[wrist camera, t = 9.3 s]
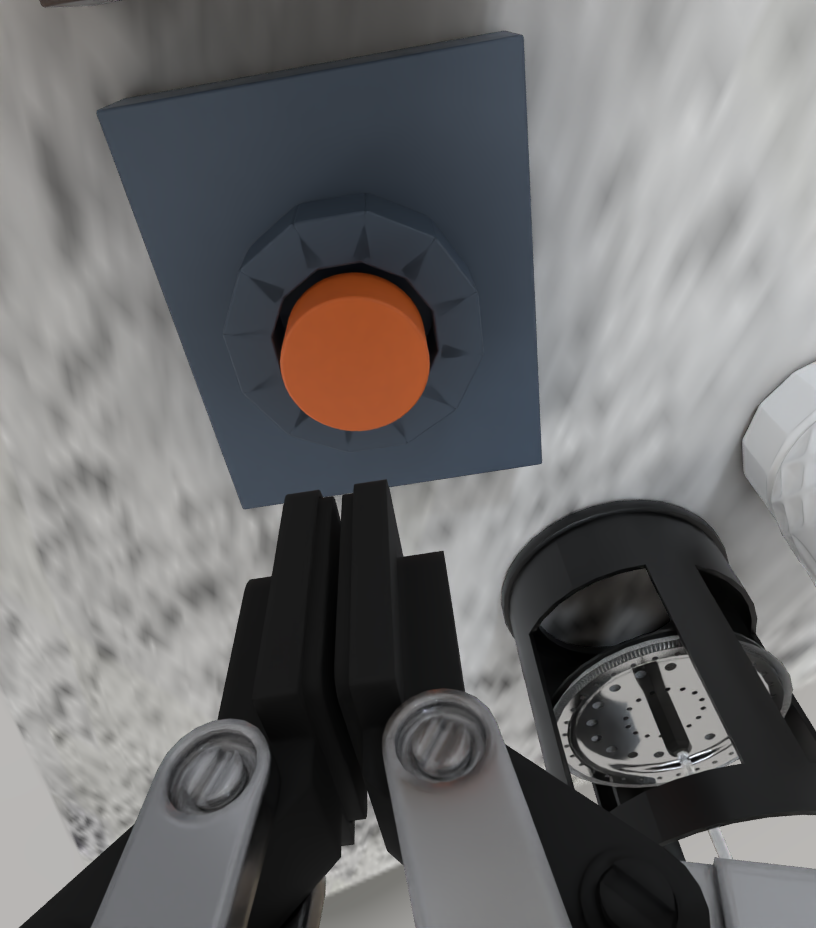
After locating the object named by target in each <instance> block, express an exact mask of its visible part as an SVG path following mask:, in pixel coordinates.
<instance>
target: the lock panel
mask: <svg viewBox="0 0 816 928" xmlns="http://www.w3.org/2000/svg"><path fill="white" fill-rule="evenodd" d="M115 1H120V0H40V3H41V5H42V6H43V7H71V6H93V5H99V4H104V3H110V2H115Z"/></svg>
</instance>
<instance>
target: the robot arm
mask: <svg viewBox="0 0 816 928" xmlns="http://www.w3.org/2000/svg"><path fill="white" fill-rule="evenodd" d="M367 791H368V794H369V797H370V800H371V803H372V806H373V809H374V812H375V815H376V818H377V821H378V824H379V827H380V830H381V833H382V837H383V840H384V843H385V846H386V849H387V851H388V852H389V853H390V854H391V855H392V856H393V857H395V858H396V859H397V860H398V861H399V862H400V863H401V864H403V865H404V870H405V875H406V880H407V885H408V890H409V896H410V901H411V906H412V911H413V917H414V922H415V927H416V928H816V869H812V868H803V867H794V866H786V865H777V864H768V863H759V862H751V861H742V860H733V859H724V858H716V857H715V859H714V864H713V865H711V864H702V863H693V862H685V861H679V860H678V859H677V858H676V857H675V856H673V855H672V854H671V853H670V852H669V851H668V850H666V849H665V848H663V847H662V846H660V845H659V844H657V843H656V842H654V841H652V840H651V839H649V838H648V837H646V836H645V835H643V834H642V833H640V832H639V831H637V830H636V829H634V828H633V827H631V826H630V825H628V824H626V823H625V822H623V821H622V820H620V819H619V818H617V817H616V816H614V815H613V814H611V813H610V812H608V811H607V810H605V809H603V808H602V807H600V806H599V805H597V804H596V803H594V802H593V801H591V800H589V799H588V798H587V797H585V796H584V795H582V794H580V793H579V792H577V791H576V790H574V789H573V788H571V787H570V786H568V785H567V784H565V783H564V782H562V781H561V780H559V779H558V778H556V777H554V776H553V775H551V774H550V773H548V772H547V771H545V770H544V769H542V768H541V767H539V766H538V765H536V764H535V763H533V762H532V761H530V760H528V759H527V758H525V757H524V756H522V755H521V754H519V753H518V752H516V751H515V750H513V749H512V748H510V747H509V746H507V745H505V743H504V740H503V738H502V735H501V732H500V729H499V727H498V724H497V722H496V720H495V718H494V716H493V715H492V713H491V711H490V710H489V708H488V707H487V706H486V705H485V704H483V703H482V702H481V701H480V700H479V699H478V698H477V697H475V696H472V695H470V694H468V693H466V692H465V689H464V682H463V675H462V668H461V661H460V655H459V648H458V641H457V634H456V628H455V621H454V614H453V608H452V601H451V595H450V589H449V582H448V576H447V570H446V563H445V557H444V551H439V552H432V553H425V554H419V555H412V556H405V557H403V553H402V548H401V543H400V538H399V533H398V528H397V523H396V519H395V514H394V509H393V504H392V499H391V494H390V489H389V485H388V481H387V479H384V480H378V481H371V482H365V483H358V484H354V488H353V493H351V494H344V495H343V496H342V510H341V520H340V516H339V513H338V509H337V505H336V502H335V499H334V497H333V496H331V497H325V498H323V496H322V493H321V491H320V490H313V491H306V492H300V493H293V494H287V495H286V496H285V499H284V505H283V511H282V517H281V523H280V529H279V535H278V541H277V548H276V554H275V560H274V566H273V572H272V576H271V577H265V578H258V579H251V580H249V581H248V583H247V584H246V587H245V591H244V595H243V600H242V605H241V610H240V615H239V619H238V624H237V629H236V634H235V639H234V643H233V648H232V653H231V658H230V663H229V667H228V672H227V677H226V682H225V687H224V691H223V696H222V701H221V706H220V711H219V716H218V720H216V721H212V722H209V723H207V724H204V725H202V726H200V727H197V728H195V729H194V730H192V731H191V732H190V733H188V734H187V735H185V736H184V737H182V738H181V739H180V740H179V741H178V742H177V743H176V744H175V745H174V746H173V747H172V748H171V750H170V751H169V752H168V753H167V754H166V756H165V758H164V759H163V761H162V763H161V765H160V766H159V768H158V770H157V772H156V775H155V777H154V779H153V782H152V784H151V787H150V789H149V791H148V794H147V796H146V798H145V801H144V803H143V806H142V808H141V810H140V813H139V815H138V817H137V820H136V822H135V824H134V825H133V826H132V827H130V828H129V829H128V830H127V831H126V832H125V833H124V834H123V835H122V836H120V837H119V838H118V839H117V840H116V841H115V842H114V843H113V844H112V845H110V846H109V847H108V848H107V849H106V850H105V851H104V852H103V853H102V854H100V855H99V856H98V857H97V858H96V859H95V860H94V861H93V862H92V863H90V864H89V865H88V866H87V867H86V868H85V869H84V870H83V871H82V872H80V873H79V874H78V875H77V876H76V877H75V878H74V879H73V880H72V881H70V882H69V883H68V884H67V885H66V886H65V887H64V888H63V889H62V890H60V891H59V892H58V893H57V894H56V895H55V896H54V897H53V898H52V899H50V900H49V901H48V902H47V903H46V904H45V905H44V906H43V907H42V908H40V909H39V910H38V911H37V912H36V913H35V914H34V915H33V916H32V917H30V918H29V919H28V920H27V921H26V922H25V923H24V924H23V925H22V926H20V927H19V928H319V926H320V921H321V915H322V910H323V904H324V899H325V887H326V877H325V875H326V874H327V873H328V872H329V870H330V869H331V868H332V867H333V866H334V865H335V863H336V862H337V861H338V860H339V859H340V858H341V846H345V845H353V844H354V834H355V820H362V819H366V817H367Z"/></svg>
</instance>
